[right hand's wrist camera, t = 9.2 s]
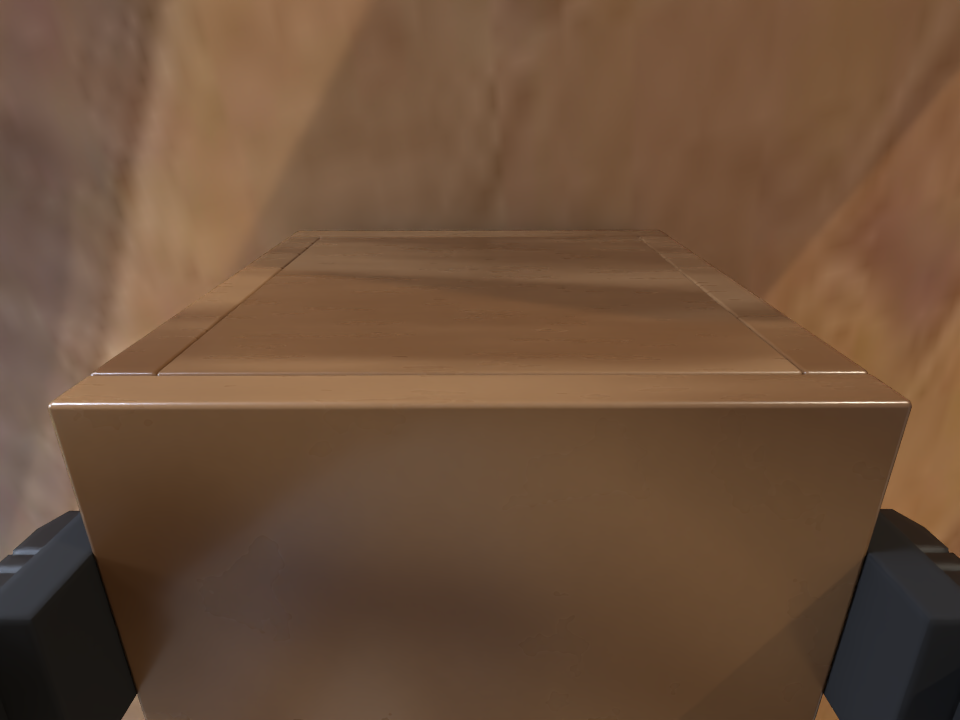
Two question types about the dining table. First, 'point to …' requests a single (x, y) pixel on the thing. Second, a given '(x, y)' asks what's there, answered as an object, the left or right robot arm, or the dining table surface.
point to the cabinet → (479, 486)
